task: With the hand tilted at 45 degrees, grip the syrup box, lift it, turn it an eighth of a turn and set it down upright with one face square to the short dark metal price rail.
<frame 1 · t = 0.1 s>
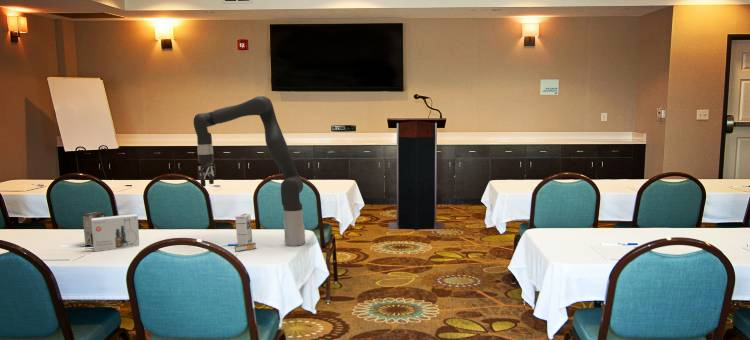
hand: (207, 185, 303), 29 cm above the table, tool pointing down, fingers open, 8 cm apart
coffee box: (96, 244, 308), on the table
skincare box: (117, 248, 299), on the table
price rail: (245, 249, 288), on the table
syrup box: (244, 243, 301), on the table
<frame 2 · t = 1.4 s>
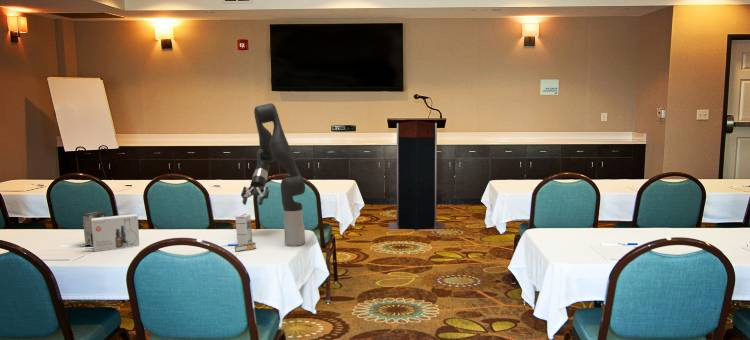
hand: (251, 204, 310), 18 cm above the table, tool tilted 45°, fingers open, 8 cm apart
nothing on the table moved.
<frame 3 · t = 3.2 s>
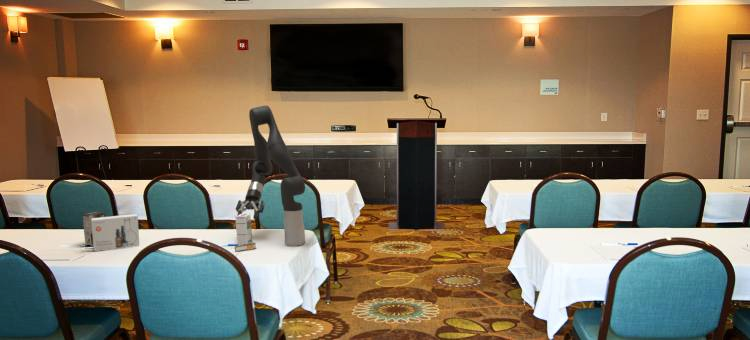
hand: (246, 218, 304), 12 cm above the table, tool tilted 45°, fingers open, 8 cm apart
nothing on the table moved.
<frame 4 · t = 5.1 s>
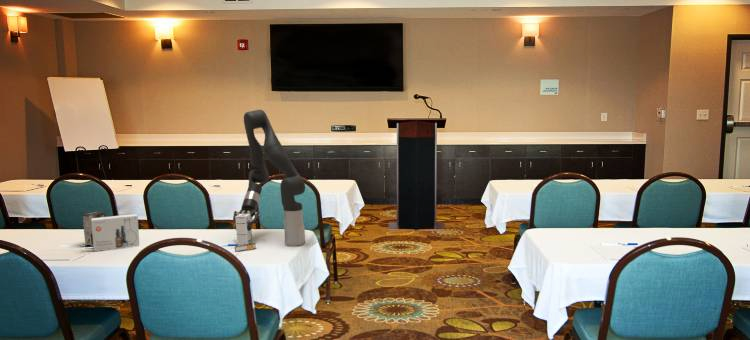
hand: (242, 229, 299), 7 cm above the table, tool tilted 45°, fingers closed on syrup box, 6 cm apart
syrup box: (244, 243, 301), on the table, touching gripper
everything else where it was.
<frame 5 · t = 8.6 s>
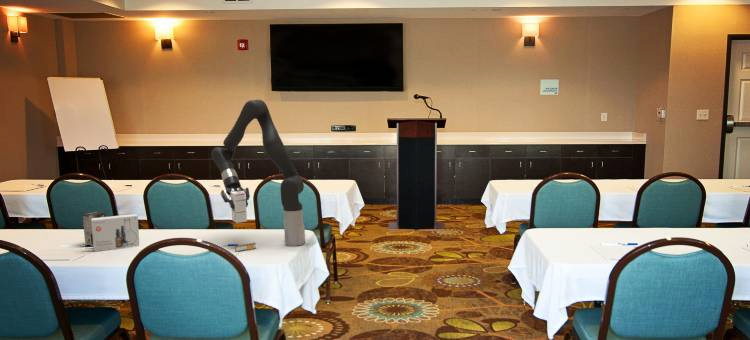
hand: (240, 207, 289), 20 cm above the table, tool tilted 45°, fingers closed on syrup box, 6 cm apart
syrup box: (239, 221, 292), point 13 cm above the table, touching gripper
everything else where it was.
when the fingers open (9 cm above the table, at t = 12.0 s): syrup box drops 1 cm, on the table.
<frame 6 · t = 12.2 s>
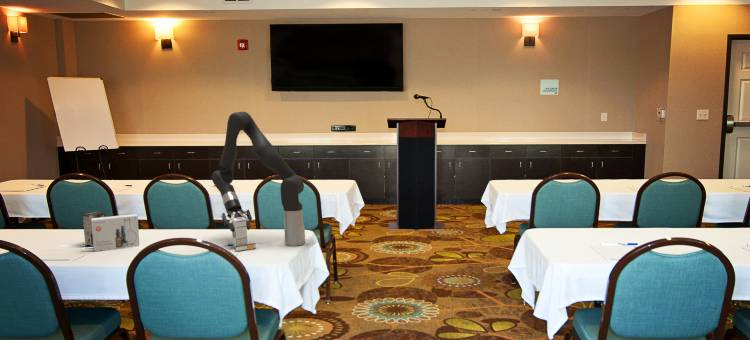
hand: (241, 229, 290), 9 cm above the table, tool tilted 45°, fingers open, 7 cm apart
syrup box: (240, 247, 293), on the table
everything else where it was.
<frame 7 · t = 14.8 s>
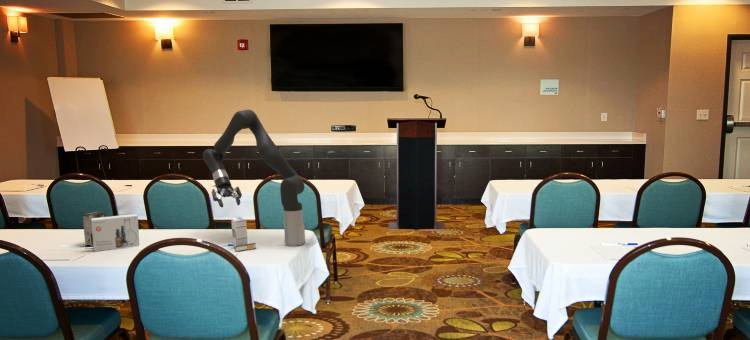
hand: (230, 205, 300), 19 cm above the table, tool tilted 45°, fingers open, 8 cm apart
nothing on the table moved.
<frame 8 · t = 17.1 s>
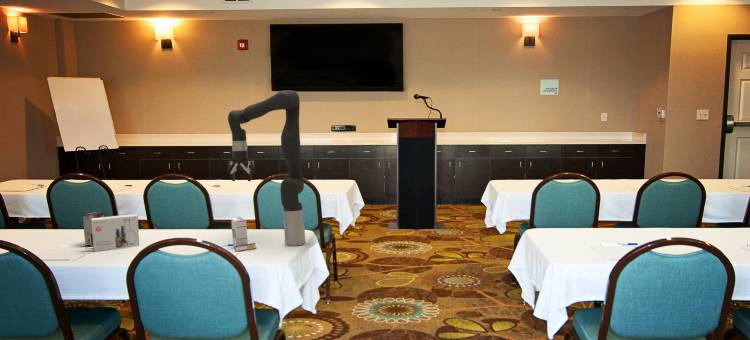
hand: (241, 181, 307), 30 cm above the table, tool pointing down, fingers open, 8 cm apart
nothing on the table moved.
at the end: syrup box 0.3 cm from the target spot, on the table; syrup box tilted 0°; the gripper is holding nothing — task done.
